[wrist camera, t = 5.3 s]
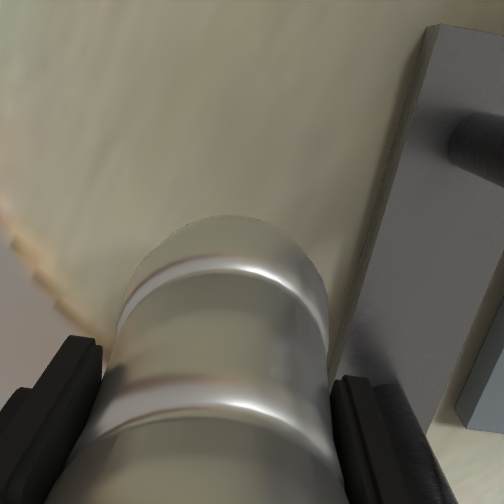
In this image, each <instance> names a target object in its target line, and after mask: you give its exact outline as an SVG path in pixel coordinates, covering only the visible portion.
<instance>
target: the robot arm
mask: <svg viewBox="0 0 504 504" xmlns="http://www.w3.org/2000/svg"><path fill="white" fill-rule="evenodd" d="M102 353H103V349H102V346H100V345H96V343H95V339H94V338H88V337H81V336H74V335H70V336H68V338H67V339H66V340H65V342H64V343H63V344H62V346H61V347H60V349H59V351H58V352H57V353H56V355H55V356H54V358H53V359H52V361H51V362H50V364H49V365H48V366H47V368H46V369H45V371H44V372H43V374H42V375H41V377H40V378H39V380H38V381H37V383H36V384H35V385H34V387H33V388H32V389H31V388H24V387H20V388H19V389H17V390H16V391H15V392H14V393H13V394H12V396H11V397H10V398H9V400H8V401H7V403H6V404H5V405H4V407H3V408H2V409H1V411H0V504H43V503H44V502H45V500H46V498H47V496H48V494H49V492H50V490H51V489H52V487H53V485H54V483H55V481H56V480H57V479H58V478H59V476H60V475H61V473H62V471H63V469H64V466H65V464H66V462H67V460H68V458H69V455H70V453H71V451H72V450H73V448H74V446H75V444H76V442H77V440H78V439H79V437H80V435H81V433H82V431H83V429H84V428H85V426H86V423H87V421H88V418H89V415H90V412H91V409H92V407H93V404H94V401H95V398H96V395H97V393H98V390H99V387H100V384H101V382H102ZM329 397H330V408H331V419H332V429H333V440H334V444H335V448H336V452H337V456H338V459H339V463H340V467H341V471H342V475H343V479H344V487H345V493H346V496H347V499H348V501H349V504H423V501H422V499H421V496H420V493H419V491H418V488H417V485H416V483H415V480H414V477H413V475H412V472H411V469H410V467H409V464H408V461H407V459H406V456H405V453H404V451H403V448H402V446H401V444H400V442H399V441H398V440H397V439H396V438H390V437H389V436H388V433H387V430H386V427H385V424H384V421H383V418H382V416H381V413H380V410H379V407H378V404H377V401H376V398H375V395H374V393H373V390H372V387H371V384H370V381H369V379H368V378H365V377H358V376H351V375H344V376H343V377H342V379H341V380H337V379H336V380H335V381H334V383H333V386H332V390H331V393H330V396H329Z"/></svg>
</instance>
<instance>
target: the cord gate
mask: <svg viewBox="0 0 504 504" xmlns="http://www.w3.org/2000/svg"><path fill="white" fill-rule="evenodd" d="M503 251H504V36H501V35H496V34H491V33H486V32H481V31H475V30H470V29H465V28H460V27H455V26H450V25H445V24H437V25H433V26H429V27H426V31H425V34H424V38H423V41H422V45H421V48H420V52H419V55H418V59H417V62H416V66H415V69H414V73H413V76H412V80H411V83H410V87H409V90H408V94H407V97H406V100H405V104H404V107H403V111H402V114H401V118H400V121H399V125H398V128H397V132H396V135H395V139H394V142H393V146H392V149H391V153H390V156H389V160H388V163H387V167H386V170H385V174H384V177H383V180H382V184H381V187H380V191H379V194H378V198H377V201H376V205H375V208H374V212H373V215H372V219H371V222H370V226H369V229H368V233H367V236H366V240H365V243H364V247H363V250H362V253H361V257H360V260H359V264H358V267H357V271H356V274H355V278H354V281H353V285H352V288H351V292H350V295H349V299H348V302H347V306H346V309H345V313H344V316H343V320H342V323H341V327H340V330H339V333H338V337H337V340H336V344H335V347H334V351H333V354H332V358H331V361H330V365H329V368H328V372H327V375H328V386H329V396H330V393H331V390H332V386H333V383H334V381H335V380H336V379H337V380H341V379H342V377H343V376H344V375H351V376H358V377H365V378H368V379H369V381H370V384H371V387H372V390H373V393H374V395H375V398H376V401H377V404H378V407H379V410H380V413H381V416H382V418H383V421H384V424H385V427H386V430H387V433H388V436H389V437H390V438H396V439H397V440H398V441H399V442H400V444H401V446H402V448H403V451H404V453H405V456H406V459H407V461H408V464H409V467H410V469H411V472H412V475H413V477H414V480H415V483H416V485H417V488H418V491H419V493H420V496H421V499H422V501H423V504H458V502H457V500H456V498H455V496H454V494H453V492H452V490H451V488H450V486H449V483H448V481H447V479H446V477H445V475H444V473H443V471H442V469H441V467H440V465H439V463H438V461H437V459H436V457H435V455H434V453H433V451H432V448H431V446H430V444H429V442H428V440H427V438H426V436H425V435H426V433H427V430H428V428H429V426H430V423H431V421H432V419H433V416H434V414H435V411H436V409H437V407H438V404H439V402H440V400H441V397H442V395H443V393H444V390H445V388H446V385H447V383H448V381H449V378H450V376H451V374H452V371H453V369H454V367H455V364H456V362H457V359H458V357H459V355H460V352H461V350H462V348H463V345H464V343H465V341H466V338H467V336H468V333H469V331H470V329H471V326H472V324H473V322H474V319H475V317H476V315H477V312H478V310H479V307H480V305H481V303H482V300H483V298H484V296H485V293H486V291H487V289H488V286H489V284H490V281H491V279H492V277H493V274H494V272H495V270H496V267H497V265H498V263H499V260H500V258H501V255H502V253H503Z"/></svg>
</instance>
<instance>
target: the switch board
mask: <svg viewBox="0 0 504 504" xmlns="http://www.w3.org/2000/svg"><path fill="white" fill-rule="evenodd" d="M454 410H455V411H456V413H457V415H458V416H459V418H460V420H461V421H462V423H463V425H464V426H465V428H466V429H473V430H480V431H488V432H496V433H504V298H503V300H502V303H501V305H500V307H499V309H498V312H497V314H496V316H495V318H494V321H493V323H492V325H491V327H490V330H489V332H488V334H487V336H486V339H485V341H484V343H483V345H482V348H481V350H480V352H479V354H478V357H477V359H476V361H475V364H474V366H473V368H472V370H471V373H470V375H469V377H468V379H467V382H466V384H465V386H464V388H463V391H462V393H461V395H460V397H459V400H458V402H457V404H456V406H455V409H454Z"/></svg>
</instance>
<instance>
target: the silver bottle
mask: <svg viewBox="0 0 504 504" xmlns="http://www.w3.org/2000/svg"><path fill="white" fill-rule="evenodd" d="M328 346H329V312H328V297H327V293H326V290H325V286H324V283H323V280H322V278H321V276H320V274H319V273H318V271H317V269H316V268H315V266H314V264H313V263H312V261H311V260H310V259H309V257H308V256H307V254H306V253H305V252H304V250H303V249H302V248H301V247H300V246H299V245H298V244H297V243H296V242H295V240H294V239H293V238H292V237H290V236H289V235H288V234H286V233H285V232H283V231H282V230H280V229H279V228H277V227H275V226H273V225H271V224H268V223H266V222H264V221H262V220H258V219H254V218H249V217H244V216H226V215H223V216H217V217H210V218H205V219H202V220H199V221H196V222H193V223H190V224H188V225H186V226H184V227H182V228H181V229H179V230H177V231H176V232H174V233H172V234H171V235H170V236H169V237H168V238H167V239H165V240H164V241H163V242H162V243H161V244H160V245H159V246H158V247H157V248H155V249H154V250H153V251H152V252H151V253H150V254H149V255H148V256H146V257H145V258H144V260H143V261H142V263H141V264H140V265H139V267H138V268H137V269H136V271H135V272H134V274H133V276H132V278H131V281H130V283H129V285H128V288H127V290H126V293H125V297H124V300H123V303H122V307H121V310H120V314H119V319H118V325H117V331H116V338H115V345H114V348H113V351H112V354H111V356H110V359H109V362H108V365H107V368H106V370H105V373H104V376H103V379H102V382H101V384H100V387H99V390H98V393H97V395H96V398H95V401H94V404H93V407H92V409H91V412H90V415H89V418H88V421H87V423H86V426H85V428H84V429H83V431H82V433H81V435H80V437H79V439H78V440H77V442H76V444H75V446H74V448H73V450H72V451H71V453H70V455H69V458H68V460H67V462H66V464H65V466H64V469H63V471H62V473H61V475H60V476H59V478H58V479H57V480H56V481H55V483H54V485H53V487H52V489H51V490H50V492H49V494H48V496H47V498H46V500H45V502H44V503H43V504H349V501H348V499H347V496H346V493H345V487H344V479H343V475H342V471H341V467H340V463H339V459H338V456H337V452H336V448H335V444H334V440H333V429H332V419H331V408H330V397H329V386H328V375H327V365H326V360H327V354H328Z"/></svg>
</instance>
